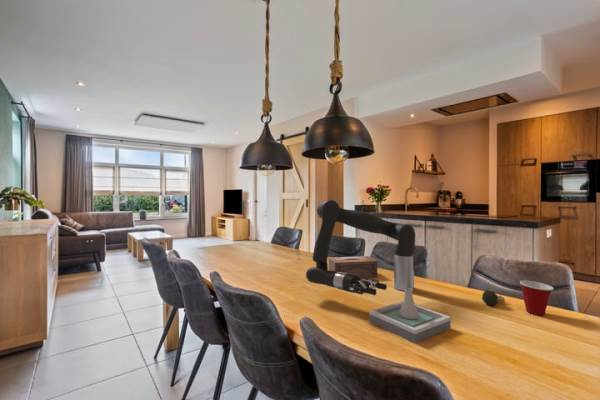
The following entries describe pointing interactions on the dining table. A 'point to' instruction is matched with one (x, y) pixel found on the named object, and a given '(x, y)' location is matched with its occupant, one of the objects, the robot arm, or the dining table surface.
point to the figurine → (491, 297)
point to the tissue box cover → (355, 266)
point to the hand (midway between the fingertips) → (381, 289)
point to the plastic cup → (535, 296)
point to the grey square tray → (410, 322)
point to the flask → (408, 306)
